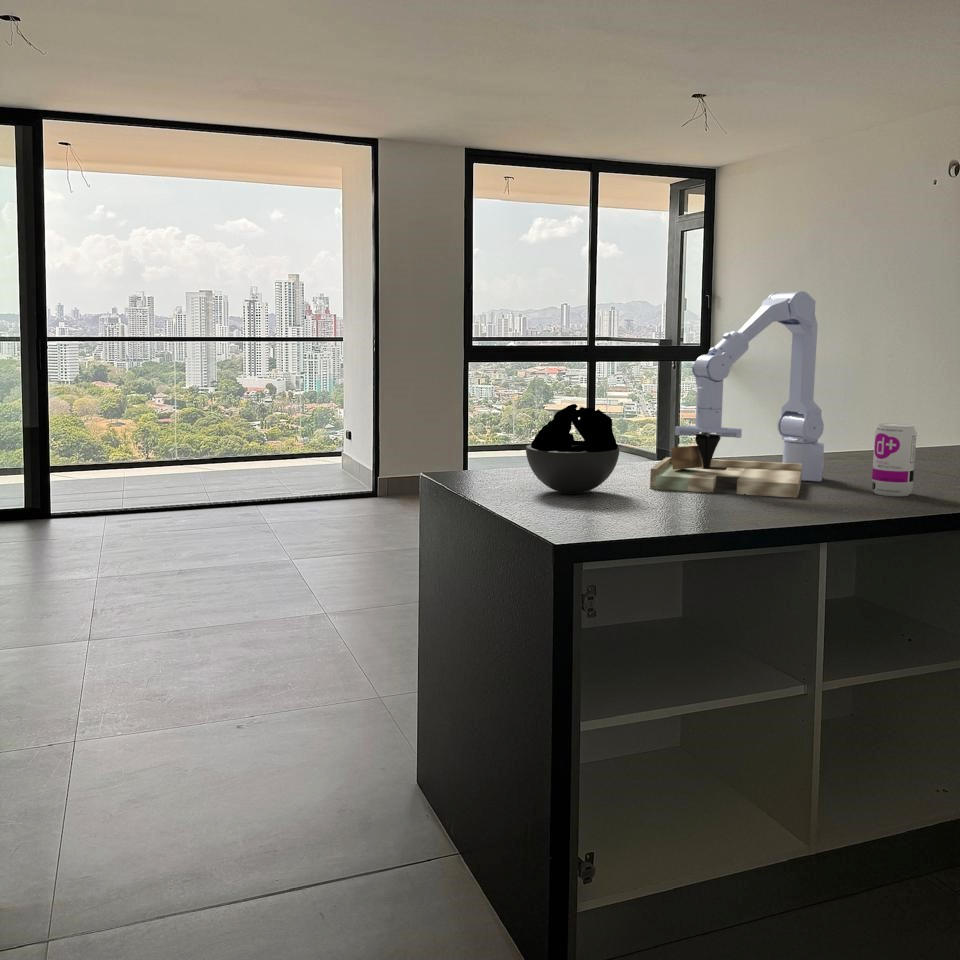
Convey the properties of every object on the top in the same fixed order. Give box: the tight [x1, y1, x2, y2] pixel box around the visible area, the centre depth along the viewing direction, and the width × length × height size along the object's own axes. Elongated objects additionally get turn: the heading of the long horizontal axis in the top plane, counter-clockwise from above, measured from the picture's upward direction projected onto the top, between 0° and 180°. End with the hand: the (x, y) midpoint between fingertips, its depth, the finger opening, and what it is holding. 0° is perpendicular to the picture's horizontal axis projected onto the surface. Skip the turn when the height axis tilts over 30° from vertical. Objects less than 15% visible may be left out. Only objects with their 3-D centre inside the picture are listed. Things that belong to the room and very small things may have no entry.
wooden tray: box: [649, 456, 802, 499], centre depth 222 cm, size 31×21×4 cm
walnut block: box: [670, 445, 702, 469], centre depth 225 cm, size 5×5×5 cm
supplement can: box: [870, 422, 918, 497], centre depth 212 cm, size 8×8×15 cm
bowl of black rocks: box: [525, 403, 621, 495], centre depth 210 cm, size 20×20×19 cm
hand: (706, 468), depth 223 cm, fingers closed
